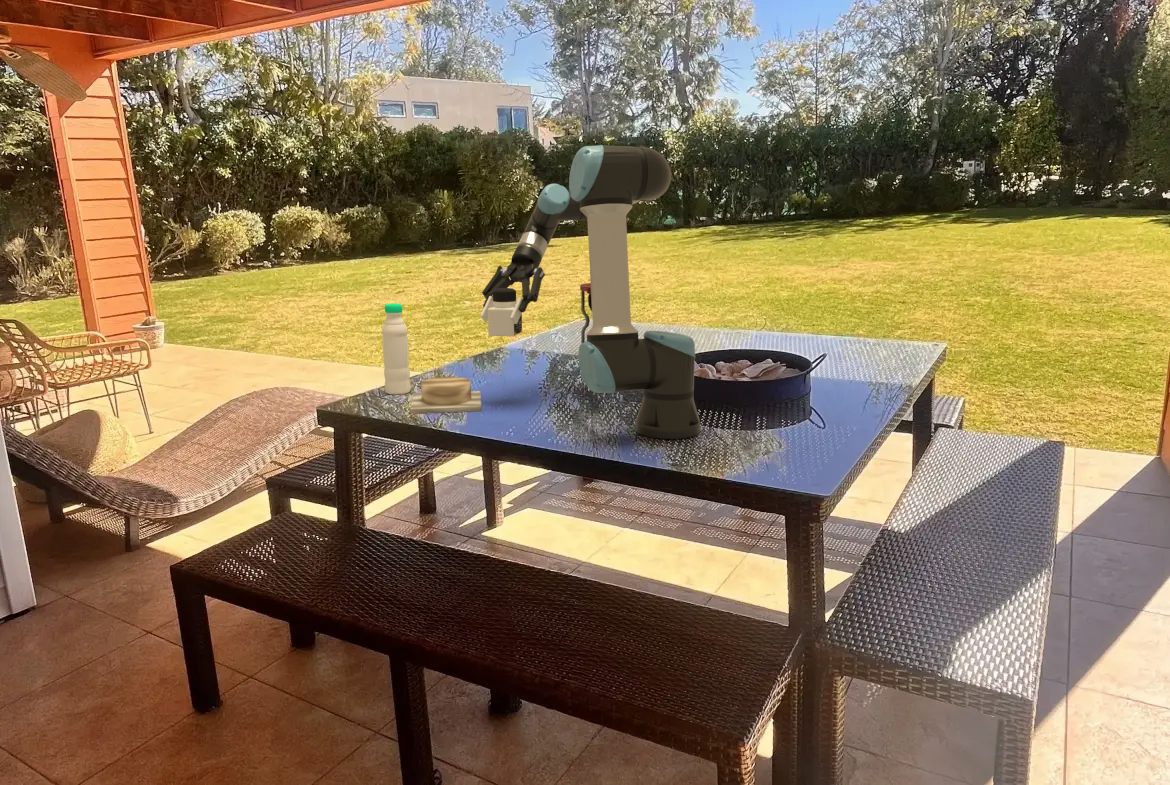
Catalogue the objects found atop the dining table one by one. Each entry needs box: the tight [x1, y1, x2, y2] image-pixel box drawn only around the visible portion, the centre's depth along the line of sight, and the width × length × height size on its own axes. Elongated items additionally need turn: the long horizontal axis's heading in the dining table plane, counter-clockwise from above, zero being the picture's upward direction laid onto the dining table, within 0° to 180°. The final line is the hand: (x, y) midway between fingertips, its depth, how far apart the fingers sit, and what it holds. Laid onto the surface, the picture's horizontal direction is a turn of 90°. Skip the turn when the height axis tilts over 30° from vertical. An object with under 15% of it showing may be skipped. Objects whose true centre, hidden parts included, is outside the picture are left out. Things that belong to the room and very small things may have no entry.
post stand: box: [409, 376, 482, 415], centre depth 219 cm, size 18×18×6 cm
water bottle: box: [381, 302, 412, 396], centre depth 231 cm, size 7×7×25 cm
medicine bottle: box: [487, 287, 523, 337], centre depth 215 cm, size 7×7×12 cm
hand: (498, 319), depth 212 cm, fingers closed on medicine bottle, 8 cm apart
